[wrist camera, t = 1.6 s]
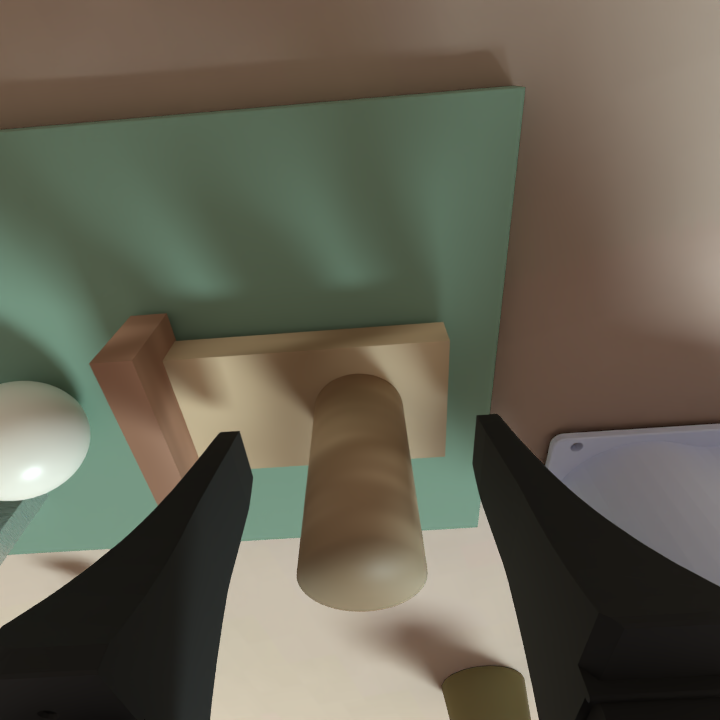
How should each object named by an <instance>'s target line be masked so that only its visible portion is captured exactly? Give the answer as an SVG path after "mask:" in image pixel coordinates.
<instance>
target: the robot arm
mask: <svg viewBox="0 0 720 720" xmlns="http://www.w3.org/2000/svg"><path fill="white" fill-rule="evenodd" d="M574 443H576V444H574ZM573 444H574V445H573ZM472 465H473V470H474V474H475V479H476V484H477V488H478V492H479V496H480V499H481V502H482V505H483V508H484V511H485V514H486V516H487V519H488V522H489V525H490V528H491V531H492V533H493V536H494V539H495V542H496V545H497V548H498V550H499V553H500V556H501V559H502V562H503V565H504V568H505V572H506V575H507V578H508V582H509V586H510V590H511V594H512V598H513V602H514V607H515V611H516V615H517V619H518V624H519V628H520V632H521V636H522V641H523V645H524V650H525V654H526V659H527V664H528V668H529V673H530V678H531V682H532V687H533V692H534V697H535V702H536V707H537V712H538V717H539V720H720V424H705V425H689V426H673V427H658V428H642V429H627V430H611V431H596V432H580V433H564V434H559V435H557V436H555V437H554V438H553V439H552V440H551V442H550V446H549V450H548V455H547V460H546V464H545V465H544V464H543V463H542V462H541V461H540V460H539V459H538V458H537V457H536V456H535V455H534V454H533V453H532V452H531V451H530V450H529V449H528V448H527V447H526V446H525V445H524V444H523V442H522V441H521V440H520V439H519V438H518V437H517V436H516V435H515V434H514V432H513V431H512V430H511V429H510V428H509V427H508V425H507V424H506V423H505V422H504V421H503V420H502V418H501V417H500V416H499V415H498V414H488V415H476V426H475V438H474V449H473V460H472ZM252 484H253V474H252V471H251V468H250V464H249V461H248V457H247V454H246V451H245V447H244V444H243V440H242V437H241V434H240V431H229V432H220V433H219V434H218V435H217V436H216V437H215V439H214V440H213V441H212V442H211V444H210V445H209V446H208V447H207V449H206V450H205V451H204V452H203V454H202V455H201V456H200V457H199V459H198V460H197V461H196V462H195V464H194V465H193V466H192V467H191V468H190V470H189V471H188V472H187V473H186V474H185V476H184V477H183V478H182V479H181V480H180V482H179V483H178V484H177V485H176V486H175V487H174V489H173V490H172V491H171V492H170V493H169V494H168V495H167V496H166V497H165V498H164V499H163V501H162V502H161V503H160V504H159V505H158V506H157V507H156V508H155V509H154V510H153V511H152V512H151V513H150V514H149V515H148V516H147V517H146V518H145V519H144V520H143V521H142V522H141V523H140V524H139V525H138V526H137V527H136V528H135V529H134V530H133V531H132V532H131V533H129V534H128V535H127V536H126V537H125V538H124V539H123V540H122V541H121V542H119V543H118V544H117V545H116V546H115V547H113V548H112V549H111V550H110V551H108V552H107V553H106V554H105V555H104V556H102V557H101V558H100V559H99V560H98V561H96V562H95V563H94V564H93V565H91V566H90V567H89V568H88V569H86V570H85V571H84V572H82V573H81V574H80V575H78V576H77V577H76V578H74V579H73V580H71V581H70V582H69V583H67V584H66V585H64V586H63V587H62V588H60V589H59V590H57V591H56V592H55V593H53V594H52V595H50V596H49V597H47V598H46V599H44V600H43V601H41V602H40V603H38V604H37V605H35V606H33V607H32V608H30V609H29V610H27V611H26V612H24V613H23V614H21V615H19V616H18V617H16V618H15V619H13V620H12V621H10V622H8V623H7V624H5V625H3V626H2V627H1V629H0V720H210V714H211V704H212V696H213V688H214V680H215V672H216V664H217V657H218V650H219V643H220V636H221V629H222V623H223V617H224V610H225V604H226V598H227V593H228V588H229V584H230V579H231V575H232V572H233V568H234V564H235V560H236V557H237V553H238V549H239V546H240V542H241V538H242V534H243V531H244V527H245V523H246V519H247V515H248V511H249V506H250V499H251V492H252Z"/></svg>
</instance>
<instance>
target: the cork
mask: <svg viewBox="0 0 720 720" xmlns="http://www.w3.org/2000/svg"><path fill="white" fill-rule="evenodd" d="M442 690H443V694H444V698H445V702H446V706H447V710H448V714H449V718H450V720H531V717H530V711H529V705H528V699H527V693H526V686H525V680H524V677H523V676H522V675H521V673H519V672H517V671H515V670H513V669H510V668H506V667H501V666H482V667H474V668H469V669H465V670H462V671H459V672H457V673H455V674H452V675H451V676H450V677H448V678H447V679H446V680H445V681H444V683H443V684H442Z"/></svg>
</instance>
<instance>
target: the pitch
mask: <svg viewBox="0 0 720 720" xmlns="http://www.w3.org/2000/svg"><path fill="white" fill-rule="evenodd" d="M524 96H525V87H520V86H504V87H492V88H480V89H469V90H457V91H446V92H434V93H422V94H411V95H399V96H387V97H376V98H364V99H353V100H341V101H329V102H318V103H306V104H294V105H283V106H271V107H260V108H248V109H236V110H225V111H213V112H201V113H190V114H178V115H167V116H155V117H143V118H132V119H120V120H108V121H97V122H85V123H74V124H62V125H50V126H39V127H27V128H15V129H4V130H0V384H2V383H7V382H13V381H35V382H41V383H46V384H49V385H52V386H55V387H57V388H59V389H61V390H63V391H65V392H66V393H68V394H69V395H71V396H72V397H73V398H74V399H75V400H76V401H77V402H78V403H79V404H80V406H81V407H82V409H83V410H84V412H85V413H86V416H87V418H88V422H89V425H90V444H89V448H88V451H87V454H86V457H85V458H84V460H83V462H82V464H81V465H80V467H79V468H78V469H77V471H76V472H75V473H74V474H73V475H72V476H71V477H70V478H69V479H68V480H67V481H65V482H64V483H63V484H61V485H60V486H59V487H57V488H55V489H53V490H51V491H49V492H48V494H49V496H48V498H47V499H46V501H45V502H44V504H43V505H42V506H41V508H40V509H39V511H38V512H37V514H36V515H35V516H34V518H33V519H32V521H31V522H30V524H29V525H28V527H27V528H26V529H25V531H24V532H23V534H22V535H21V537H20V538H19V539H18V541H17V542H16V544H15V545H14V547H13V548H12V549H11V551H10V552H9V554H8V555H12V554H29V553H46V552H63V551H80V550H97V549H112V548H113V547H115V546H116V545H117V544H118V543H119V542H121V541H122V540H123V539H124V538H125V537H126V536H127V535H128V534H129V533H131V532H132V531H133V530H134V529H135V528H136V527H137V526H138V525H139V524H140V523H141V522H142V521H143V520H144V519H145V518H146V517H147V516H148V515H149V514H150V513H151V512H152V511H153V510H154V509H155V508H156V507H157V506H158V505H157V503H156V501H155V499H154V497H153V495H152V492H151V490H150V488H149V486H148V484H147V482H146V480H145V478H144V476H143V474H142V472H141V470H140V468H139V466H138V464H137V462H136V460H135V457H134V455H133V453H132V451H131V449H130V447H129V445H128V443H127V441H126V439H125V437H124V435H123V433H122V431H121V429H120V427H119V425H118V422H117V420H116V418H115V416H114V414H113V412H112V410H111V408H110V406H109V404H108V402H107V400H106V398H105V396H104V394H103V392H102V389H101V387H100V385H99V383H98V381H97V379H96V377H95V375H94V373H93V371H92V369H91V367H90V365H89V363H90V362H91V361H92V360H93V358H94V357H95V356H96V355H97V354H98V353H99V352H100V350H101V349H102V348H103V347H104V346H105V345H106V344H107V342H108V341H109V340H110V339H111V338H112V337H113V336H114V334H115V333H116V332H117V331H118V330H119V329H120V328H121V326H122V325H123V324H124V323H125V322H126V321H127V319H128V318H129V317H130V316H137V315H150V314H164V313H167V315H168V318H169V321H170V324H171V327H172V330H173V333H174V336H175V338H176V341H184V340H198V339H212V338H226V337H240V336H254V335H268V334H282V333H295V332H309V331H323V330H337V329H351V328H365V327H379V326H393V325H407V324H421V323H435V322H444V325H445V328H446V331H447V334H448V337H449V339H450V351H449V375H448V399H447V423H446V447H445V457H431V458H415V459H411V463H412V470H413V477H414V483H415V490H416V497H417V504H418V510H419V517H420V524H421V530H438V529H455V528H472V527H478V518H479V508H480V496H479V492H478V488H477V484H476V479H475V474H474V470H473V465H472V460H473V449H474V438H475V426H476V415H488V414H490V408H491V398H492V389H493V380H494V371H495V362H496V353H497V343H498V334H499V325H500V316H501V307H502V298H503V288H504V279H505V270H506V261H507V252H508V243H509V234H510V224H511V215H512V206H513V197H514V188H515V179H516V169H517V160H518V151H519V142H520V133H521V124H522V114H523V105H524ZM251 471H252V474H253V484H252V492H251V499H250V506H249V511H248V515H247V519H246V523H245V527H244V531H243V534H242V538H241V541H251V540H268V539H285V538H301V530H302V521H303V511H304V502H305V493H306V484H307V475H308V465H304V466H289V467H273V468H257V469H251Z"/></svg>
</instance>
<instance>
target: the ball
mask: <svg viewBox="0 0 720 720" xmlns="http://www.w3.org/2000/svg"><path fill="white" fill-rule="evenodd" d="M89 444H90V425H89V422H88V418H87V416H86V413H85V412H84V410H83V409H82V407H81V406H80V404H79V403H78V402H77V401H76V400H75V399H74V398H73V397H72V396H71V395H69V394H68V393H66V392H65V391H63V390H61V389H59V388H57V387H55V386H52V385H49V384H46V383H41V382H35V381H13V382H7V383H2V384H0V501H19V500H25V499H30V498H34V497H37V496H40V495H43V494H45V493H48V492H49V491H51V490H53V489H55V488H57V487H59V486H60V485H61V484H63V483H64V482H65V481H67V480H68V479H69V478H70V477H71V476H72V475H73V474H74V473H75V472H76V471H77V469H78V468H79V467H80V465H81V464H82V462H83V460H84V458H85V457H86V454H87V451H88V448H89Z"/></svg>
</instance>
